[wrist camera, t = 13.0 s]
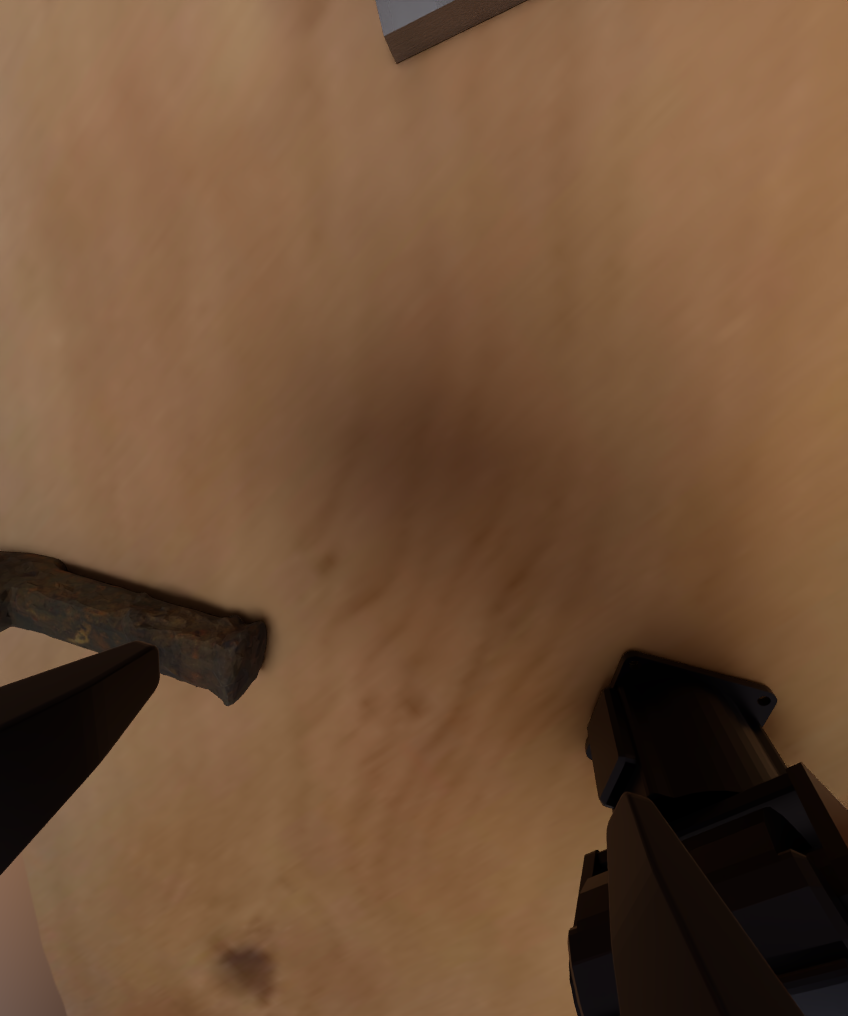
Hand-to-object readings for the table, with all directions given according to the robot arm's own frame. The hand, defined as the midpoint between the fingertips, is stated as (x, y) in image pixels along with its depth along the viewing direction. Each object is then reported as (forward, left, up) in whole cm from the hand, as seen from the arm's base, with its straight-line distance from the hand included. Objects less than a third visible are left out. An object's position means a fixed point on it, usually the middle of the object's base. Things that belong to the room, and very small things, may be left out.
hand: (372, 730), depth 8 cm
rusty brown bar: (+18, +11, -13) cm, 25 cm away
